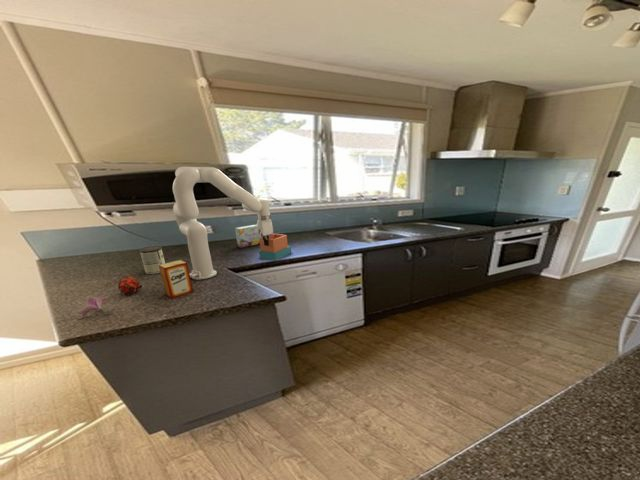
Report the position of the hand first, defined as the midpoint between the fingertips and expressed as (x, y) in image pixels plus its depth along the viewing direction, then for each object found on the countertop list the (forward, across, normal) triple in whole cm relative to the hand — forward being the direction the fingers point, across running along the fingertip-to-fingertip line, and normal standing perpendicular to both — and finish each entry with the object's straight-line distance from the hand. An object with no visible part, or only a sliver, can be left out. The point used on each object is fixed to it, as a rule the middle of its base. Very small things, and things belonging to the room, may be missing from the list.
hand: (267, 245), depth 190 cm
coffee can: (+11, +42, -47) cm, 64 cm away
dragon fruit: (+11, +66, -28) cm, 72 cm away
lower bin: (+10, -7, 0) cm, 12 cm away
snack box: (+10, -23, -36) cm, 44 cm away
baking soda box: (+11, +58, -5) cm, 59 cm away
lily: (+12, +85, -17) cm, 87 cm away
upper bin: (+6, -7, 0) cm, 9 cm away
